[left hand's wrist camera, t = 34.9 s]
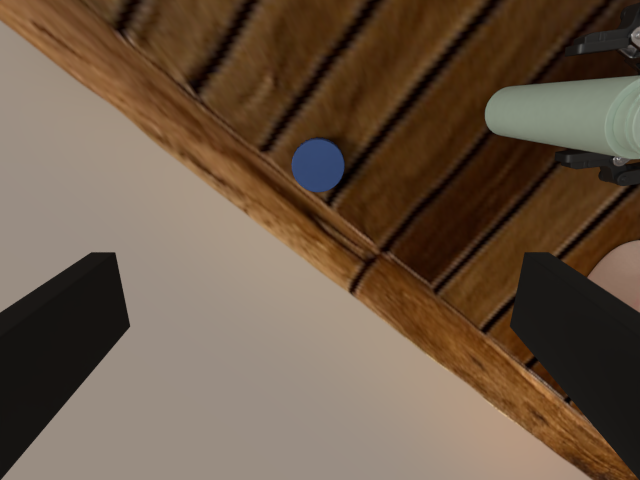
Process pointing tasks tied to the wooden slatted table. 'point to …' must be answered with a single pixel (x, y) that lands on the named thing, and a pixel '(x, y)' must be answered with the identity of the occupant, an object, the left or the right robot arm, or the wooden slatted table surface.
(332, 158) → the lid
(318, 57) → the wooden slatted table surface
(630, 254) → the anatomical model
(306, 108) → the wooden slatted table surface
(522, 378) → the wooden slatted table surface
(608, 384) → the left robot arm
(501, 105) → the jar
